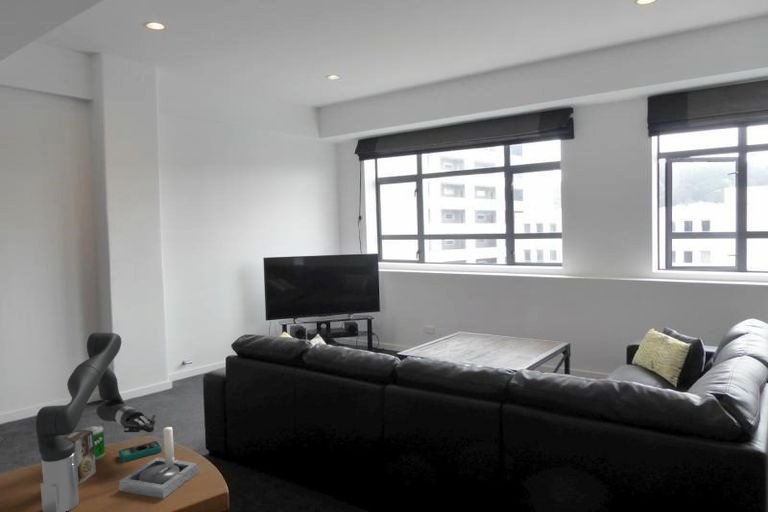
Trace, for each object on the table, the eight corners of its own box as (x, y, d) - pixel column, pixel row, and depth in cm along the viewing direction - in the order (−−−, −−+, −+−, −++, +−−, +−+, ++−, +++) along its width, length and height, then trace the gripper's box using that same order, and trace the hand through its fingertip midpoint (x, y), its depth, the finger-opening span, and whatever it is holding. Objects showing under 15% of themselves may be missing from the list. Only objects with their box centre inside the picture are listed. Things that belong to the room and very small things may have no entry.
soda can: (85, 455, 210) (83, 425, 209) (106, 452, 212) (104, 422, 211) (81, 463, 202) (78, 433, 201) (103, 460, 205) (101, 430, 204)
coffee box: (80, 471, 196) (77, 429, 195) (96, 472, 195) (93, 429, 194) (62, 484, 188) (58, 439, 186) (78, 485, 186) (75, 440, 185)
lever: (162, 491, 180) (159, 444, 178) (130, 486, 184) (127, 440, 182) (187, 472, 193) (185, 428, 191) (158, 468, 196) (155, 424, 195)
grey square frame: (163, 498, 177) (162, 488, 177) (119, 490, 182) (118, 480, 182) (198, 472, 194) (197, 462, 194) (156, 466, 199) (156, 456, 199)
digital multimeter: (163, 452, 212) (163, 445, 211) (122, 463, 203) (121, 456, 203) (158, 446, 218) (158, 439, 217) (118, 456, 209) (118, 449, 209)
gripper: (111, 414, 206) (133, 425, 195) (145, 403, 216) (167, 414, 205) (113, 433, 206) (134, 445, 195) (146, 421, 217) (168, 433, 205)
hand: (151, 429), depth 200 cm, fingers closed
